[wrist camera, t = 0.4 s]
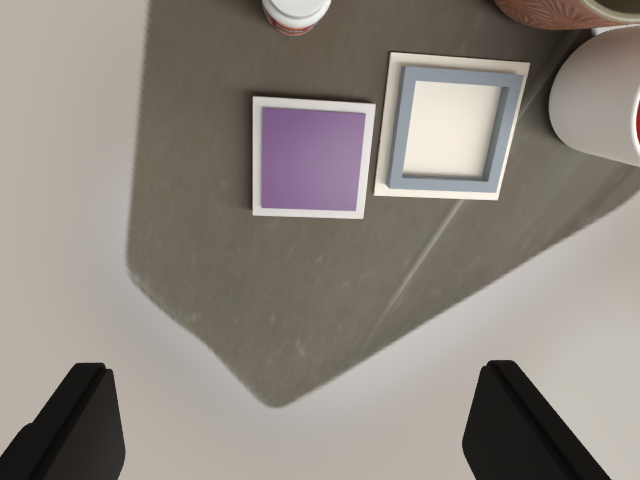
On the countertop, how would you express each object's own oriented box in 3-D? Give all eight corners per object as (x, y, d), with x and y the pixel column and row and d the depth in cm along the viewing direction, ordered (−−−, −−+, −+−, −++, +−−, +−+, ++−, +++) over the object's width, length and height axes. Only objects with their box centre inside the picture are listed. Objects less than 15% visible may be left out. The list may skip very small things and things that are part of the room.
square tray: (390, 52, 33) (395, 51, 31) (528, 63, 34) (538, 62, 33) (373, 194, 37) (377, 199, 36) (495, 199, 39) (503, 203, 37)
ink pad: (253, 95, 33) (252, 96, 32) (372, 103, 34) (376, 104, 33) (253, 211, 37) (252, 216, 36) (360, 214, 38) (363, 219, 37)
